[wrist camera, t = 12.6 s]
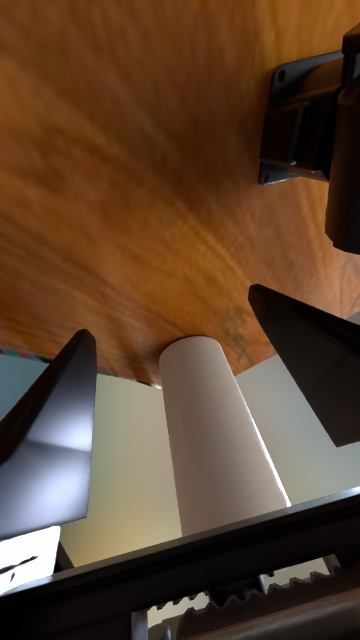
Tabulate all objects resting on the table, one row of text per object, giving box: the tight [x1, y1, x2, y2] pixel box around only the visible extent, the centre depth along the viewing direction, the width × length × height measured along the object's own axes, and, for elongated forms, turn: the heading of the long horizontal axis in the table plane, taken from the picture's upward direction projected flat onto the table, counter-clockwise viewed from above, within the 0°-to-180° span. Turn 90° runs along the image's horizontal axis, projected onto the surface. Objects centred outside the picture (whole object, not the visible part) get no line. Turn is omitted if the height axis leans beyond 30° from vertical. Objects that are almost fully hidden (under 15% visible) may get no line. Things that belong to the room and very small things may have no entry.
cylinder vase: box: [159, 336, 291, 579], centre depth 27 cm, size 12×12×25 cm
